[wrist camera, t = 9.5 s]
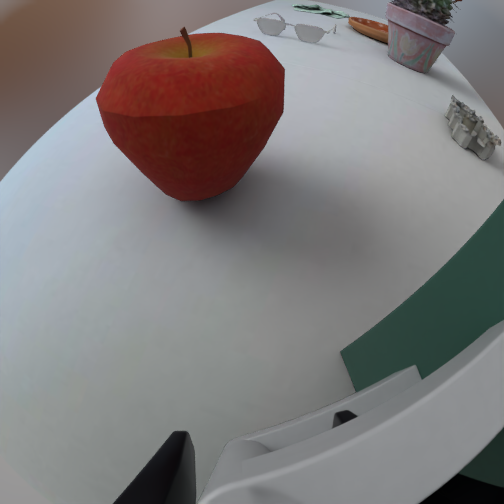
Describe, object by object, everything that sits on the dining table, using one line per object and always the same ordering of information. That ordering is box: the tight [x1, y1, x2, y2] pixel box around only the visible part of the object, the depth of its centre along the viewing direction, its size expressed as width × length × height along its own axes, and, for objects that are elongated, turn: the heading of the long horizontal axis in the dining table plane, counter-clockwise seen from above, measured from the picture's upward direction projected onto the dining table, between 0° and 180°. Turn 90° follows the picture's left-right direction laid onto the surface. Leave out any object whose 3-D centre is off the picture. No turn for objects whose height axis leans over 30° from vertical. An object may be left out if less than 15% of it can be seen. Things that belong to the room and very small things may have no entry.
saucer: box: [348, 17, 388, 43], centre depth 57 cm, size 23×23×4 cm
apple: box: [96, 27, 285, 201], centre depth 16 cm, size 11×11×12 cm
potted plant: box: [386, 0, 462, 73], centre depth 36 cm, size 18×20×25 cm
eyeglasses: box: [254, 13, 336, 43], centre depth 48 cm, size 15×18×4 cm
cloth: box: [292, 4, 350, 18], centre depth 73 cm, size 20×22×2 cm
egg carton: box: [445, 95, 501, 160], centre depth 29 cm, size 11×8×4 cm
